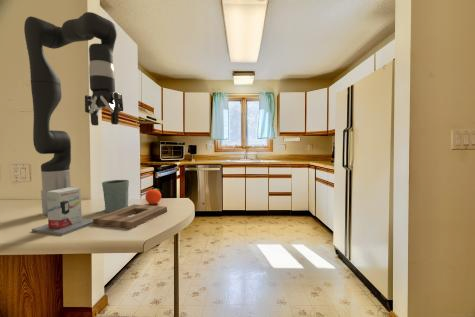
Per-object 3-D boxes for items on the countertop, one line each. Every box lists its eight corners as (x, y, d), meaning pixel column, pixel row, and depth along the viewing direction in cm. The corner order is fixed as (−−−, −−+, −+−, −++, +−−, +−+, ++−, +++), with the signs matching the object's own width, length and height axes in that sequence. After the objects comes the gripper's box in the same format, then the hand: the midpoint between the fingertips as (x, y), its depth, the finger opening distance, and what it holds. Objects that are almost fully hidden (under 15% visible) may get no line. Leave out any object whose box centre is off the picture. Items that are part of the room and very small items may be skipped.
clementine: (161, 201, 116) (160, 186, 116) (165, 203, 110) (165, 188, 110) (143, 203, 112) (143, 188, 111) (147, 206, 106) (147, 190, 105)
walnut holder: (93, 224, 83) (92, 218, 83) (134, 209, 102) (133, 204, 102) (131, 228, 79) (131, 222, 78) (167, 211, 98) (166, 206, 98)
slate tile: (31, 231, 77) (31, 229, 77) (70, 219, 90) (70, 217, 90) (62, 235, 73) (61, 232, 73) (98, 221, 86) (98, 219, 86)
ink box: (59, 229, 77) (57, 192, 76) (47, 228, 78) (45, 191, 77) (82, 220, 85) (81, 187, 84) (71, 219, 86) (69, 187, 85)
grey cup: (104, 214, 96) (102, 184, 95) (102, 208, 104) (100, 180, 103) (132, 210, 101) (130, 181, 100) (127, 205, 110) (126, 178, 109)
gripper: (127, 78, 85) (129, 124, 86) (95, 81, 89) (97, 126, 90) (110, 72, 77) (112, 123, 78) (76, 76, 82) (79, 124, 83)
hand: (104, 124), depth 84 cm, fingers open, 8 cm apart
